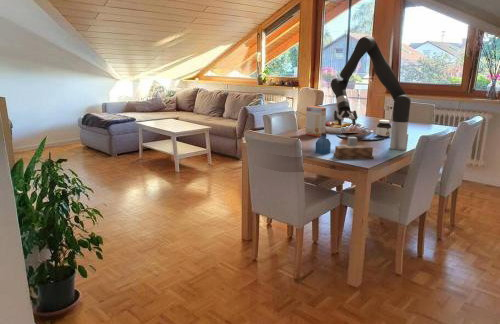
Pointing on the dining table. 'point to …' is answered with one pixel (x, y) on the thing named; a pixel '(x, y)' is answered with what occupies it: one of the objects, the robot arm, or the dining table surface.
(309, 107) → the cracker box
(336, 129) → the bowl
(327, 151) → the perfume bottle
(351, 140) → the slate peg
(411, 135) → the dining table surface
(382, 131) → the spread jar
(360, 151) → the stand
